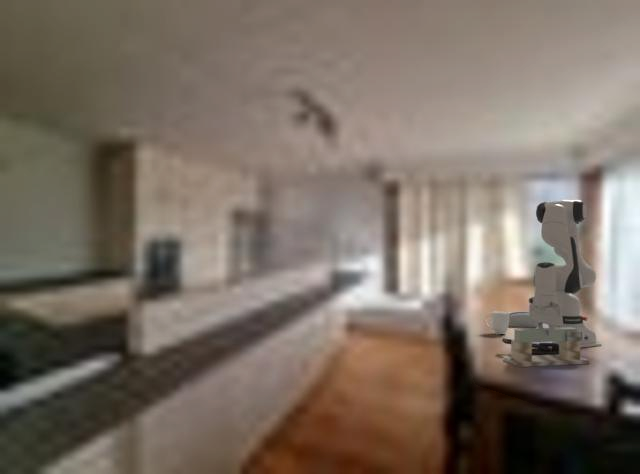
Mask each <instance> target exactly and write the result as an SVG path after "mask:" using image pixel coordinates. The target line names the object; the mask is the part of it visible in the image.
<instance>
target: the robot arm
mask: <svg viewBox="0 0 640 474" xmlns="http://www.w3.org/2000/svg"><path fill="white" fill-rule="evenodd" d="M586 207H587V206H586V204H585V202H584V201H583V200H580V199H574V200H571V199H570V200H569V199H561V200H560V199H559V200H554V201H553V200H552V201H548V202H547V201H544V202H540V203H539V204H538V205H537V206H536V210H535V215H536V219H537V221H538V222H539V223H540V224H541V229H540V230H541V231H540V232H541V234H540V235H541V238H542V241H543V242H545V244H546V245H548V246H550V247H551V248H553V252H554V253H555V254H556V255H557V256H558V257H560V258H562V259H563V260H564V262H565V263H553V262H548V261H546V262H540V263H537V264H536V265H535V272H534V276H533V285H534V287H535V289H534V290H535V291H534V296H531V297H529V298H528V303H529V304H528V305H529V306H528V309H529V311H528V312H529V316H530V319H531V320H534V321H537V326H538V327H537V328H544V325H548V327H547V328H549V331H547V335H549V336H553V331H554V329H555V328H561V327H572V328H576V329H577V330H578V331H582V341H580V348H588V347H590V348H591V347H598V346H602V343H601V341H598V340H597V336H596V332H595V331H594V330H593V329H592V328H590V327H589V326H587V325H586V324H585V323H584V321H585V322H587V321H588V320H589V318H588V317H587V316H582V315H581V301H580V299H579V298H578V296H577V295H575V294H576V293H578V292H580V290H582V288H588V287H589V288H590V287H592V286H593V285H594V283H595V282H596V279H597V278H596V277H597V275H596V271H595V270H594V268H593V267H592V266H590V265H589V264H588V263H586V261H585V259H584V258H583V257H582V256H583V255H582V254H581V251H580V246H579V245H580V244H579V231H578V225H579V224H580V223H581V222H583V221H584V220H585V219H586V215H587V208H586ZM543 324H544V325H543ZM551 343H557V344H558V345H559V341H551Z"/></svg>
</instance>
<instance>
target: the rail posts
mask: <svg viewBox="0 0 640 474" xmlns="http://www.w3.org/2000/svg"><path fill="white" fill-rule="evenodd" d="M580 341H582V331H578V330H577V331H576V332H567V341H559V354H558V355H534V356H532V343H533V342H524V343H519V342H516V341H514V339H511V344H510V347H511V348H510V351H511V352H510V355H511V356H503V362H507V363H508V362H509V364H510V363H511V365H512V364H513V366H514V367H517V368H521V367H522V368H523V367H525V368H526V367H542V366H543V367H545V366H546V367H547V365H548V366H567V365H569V364H571V365H588V364H590V360H589V359H588V358H584V357H582V356H581V347H580Z"/></svg>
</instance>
